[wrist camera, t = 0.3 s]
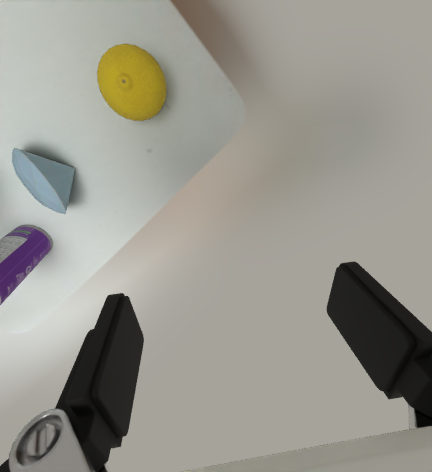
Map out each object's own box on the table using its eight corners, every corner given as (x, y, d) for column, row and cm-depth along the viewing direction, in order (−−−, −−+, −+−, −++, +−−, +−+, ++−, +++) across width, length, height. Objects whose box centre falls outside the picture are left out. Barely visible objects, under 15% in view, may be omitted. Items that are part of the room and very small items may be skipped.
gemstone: (69, 134, 22) (13, 155, 19) (107, 202, 27) (66, 226, 24) (42, 133, 26) (-7, 149, 24) (79, 191, 31) (41, 211, 28)
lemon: (179, 89, 24) (177, 84, 17) (146, 129, 25) (131, 139, 19) (136, 38, 22) (113, 8, 15) (101, 86, 23) (66, 79, 16)
